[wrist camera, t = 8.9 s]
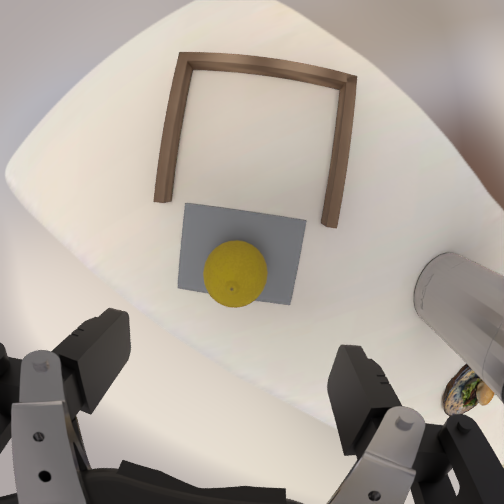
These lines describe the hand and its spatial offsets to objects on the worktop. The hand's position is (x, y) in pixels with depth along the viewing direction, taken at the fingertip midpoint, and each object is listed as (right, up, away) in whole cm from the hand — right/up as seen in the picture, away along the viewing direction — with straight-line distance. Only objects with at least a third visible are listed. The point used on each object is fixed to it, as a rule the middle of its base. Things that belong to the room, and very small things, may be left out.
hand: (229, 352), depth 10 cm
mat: (0, +3, +19) cm, 19 cm away
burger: (+37, -18, +24) cm, 47 cm away
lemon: (0, +3, +19) cm, 19 cm away
